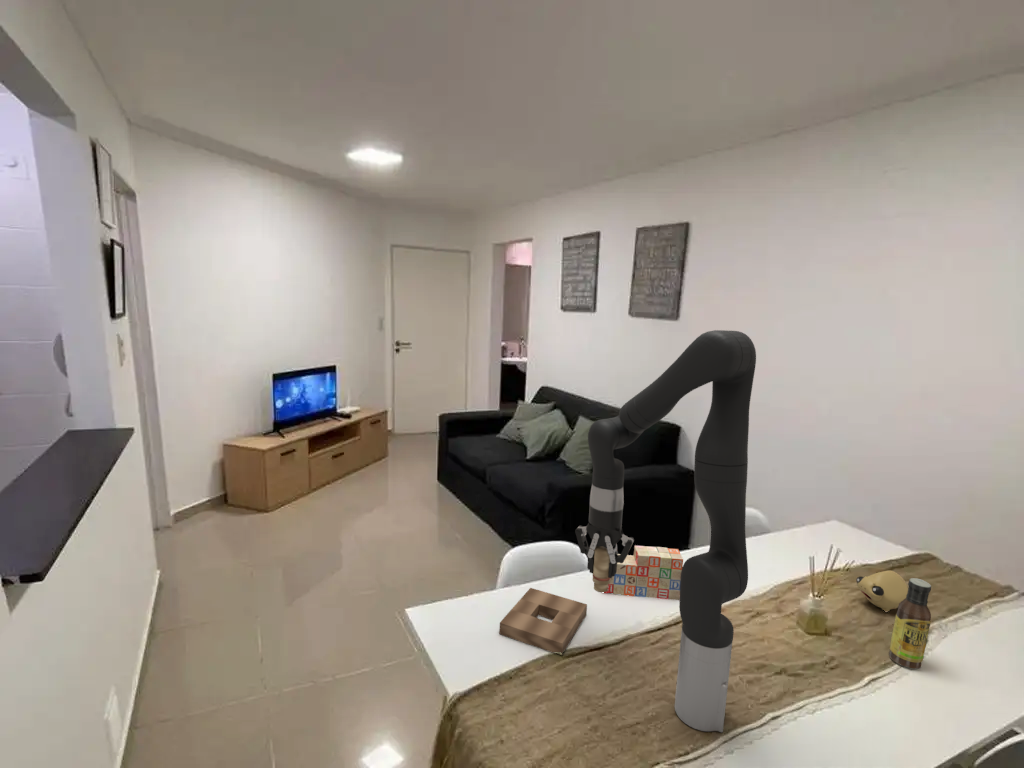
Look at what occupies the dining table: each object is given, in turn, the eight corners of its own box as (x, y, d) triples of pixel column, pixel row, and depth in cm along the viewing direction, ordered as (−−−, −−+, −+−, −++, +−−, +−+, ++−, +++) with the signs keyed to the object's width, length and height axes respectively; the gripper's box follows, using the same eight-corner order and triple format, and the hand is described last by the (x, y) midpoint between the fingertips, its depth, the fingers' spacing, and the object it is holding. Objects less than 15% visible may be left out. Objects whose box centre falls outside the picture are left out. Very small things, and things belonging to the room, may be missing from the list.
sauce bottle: (899, 669, 118) (912, 588, 115) (882, 651, 124) (894, 573, 121) (929, 672, 117) (943, 590, 114) (910, 654, 123) (923, 576, 120)
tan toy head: (846, 598, 147) (851, 563, 146) (883, 596, 149) (888, 561, 147) (875, 618, 138) (880, 581, 136) (914, 616, 139) (920, 579, 138)
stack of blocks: (601, 594, 145) (604, 552, 143) (599, 582, 151) (602, 542, 149) (679, 600, 143) (683, 558, 141) (675, 588, 149) (678, 548, 147)
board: (586, 615, 134) (587, 604, 134) (561, 655, 118) (562, 643, 118) (529, 598, 141) (530, 587, 141) (499, 634, 125) (499, 622, 125)
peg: (611, 587, 123) (614, 547, 121) (606, 595, 119) (609, 554, 118) (594, 582, 125) (597, 543, 123) (589, 590, 121) (592, 550, 119)
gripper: (571, 503, 119) (567, 573, 121) (633, 515, 112) (627, 589, 115) (581, 493, 125) (577, 560, 128) (641, 504, 119) (635, 574, 122)
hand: (601, 573), depth 121 cm, fingers closed on peg, 4 cm apart
